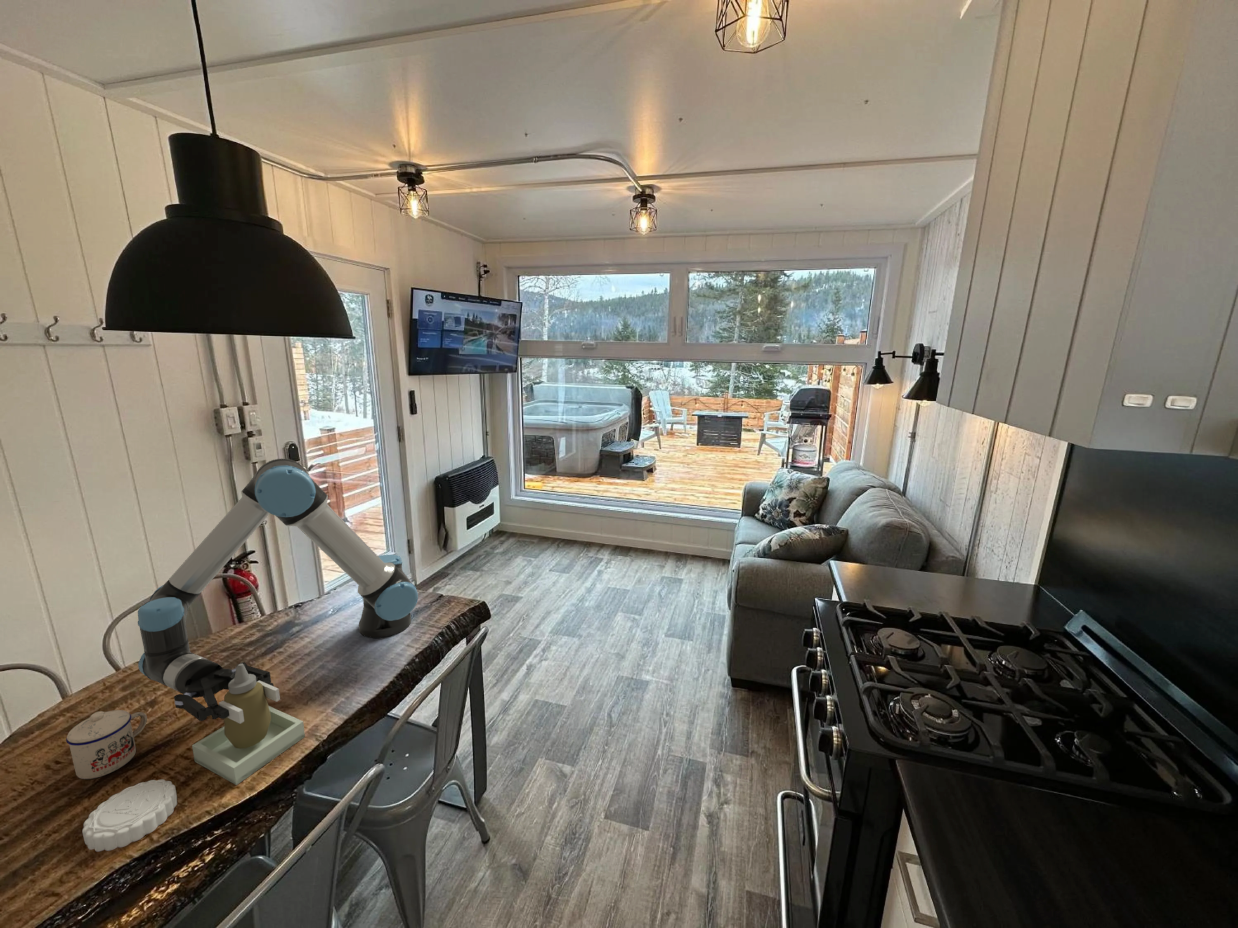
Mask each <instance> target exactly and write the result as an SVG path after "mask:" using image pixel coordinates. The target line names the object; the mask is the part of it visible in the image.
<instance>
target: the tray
mask: <svg viewBox="0 0 1238 928" xmlns="http://www.w3.org/2000/svg"><path fill="white" fill-rule="evenodd" d="M268 707H269V710H270V714H271V721H270V724H269V728H268V731H267V735H266V736H265V738H264V739H263V740H261V741H260V742H259V743H257V744H255V745H254V746H251V747H248V748H243V749H238V748H235V747H234V746H233V745H232V744H231V742H230V741H229V740H228V738H227V737H226V736H225V735H224V726H222V727H221V728H219V729H218V730H217V729H216V730H215V731H214V732H212V733H210V734H209V735H207V736H205V737H204V738H201V739H200V740H198V741H196V743H193V744H192V745H191V747H192V753H193V760H194V762H195V763H197V764H198V765H199V766H201V767H203V768H205V769H207V770H209V771H211V772H212V773H214V774H215V775H218V776H219V777H222V778H223V779H224V780H226V781H228V782H230V783H232V784H234V785H236V786H237V785H239V784H240V783H242V782H244V781H245V780H247V778H249V777H250V776H252V775H253V774H254V773H256V772H257V771H259V770H260V769H262V768H263V767H264V766H266V765H268V764H269V763H271V761H273V760H274V759H276V758H277V757H278V756H280V755H282V754H283V753H284V752H286V751H287V750H289V749H290V748H291V747H293V746H295V744H296V743H298V742H300V741H301V740H303V739H304V738H305V737H306V733H305V725H304V721H303V720H301V719H299V718H296V717H294V716H293V715H291V714H288V713H286V712H283V711H281V710H280V709H279V710H278V709H277V708H274V707H272V706H270V705H268Z"/></svg>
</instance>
